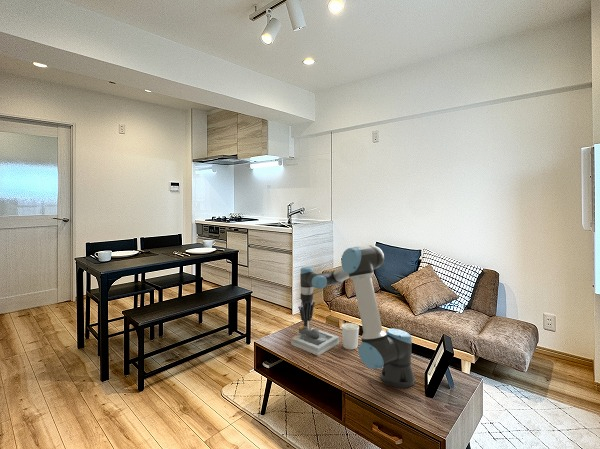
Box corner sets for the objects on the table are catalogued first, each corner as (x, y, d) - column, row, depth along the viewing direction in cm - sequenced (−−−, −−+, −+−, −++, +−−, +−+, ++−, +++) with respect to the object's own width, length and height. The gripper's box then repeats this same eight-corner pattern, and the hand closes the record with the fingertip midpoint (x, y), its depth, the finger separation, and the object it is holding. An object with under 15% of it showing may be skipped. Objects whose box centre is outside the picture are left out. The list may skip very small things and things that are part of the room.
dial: (330, 339, 189) (330, 329, 188) (319, 347, 178) (319, 336, 178) (305, 332, 199) (305, 322, 198) (293, 339, 188) (293, 329, 187)
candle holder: (340, 348, 181) (340, 328, 180) (343, 341, 191) (343, 322, 190) (357, 351, 178) (357, 330, 177) (359, 343, 187) (360, 324, 187)
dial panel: (339, 343, 188) (339, 336, 188) (318, 355, 173) (318, 348, 173) (312, 333, 201) (312, 327, 201) (291, 344, 186) (291, 337, 186)
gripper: (308, 289, 198) (308, 326, 200) (294, 294, 188) (295, 332, 190) (318, 291, 193) (318, 329, 195) (304, 296, 183) (304, 336, 185)
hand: (306, 330), depth 193 cm, fingers closed
